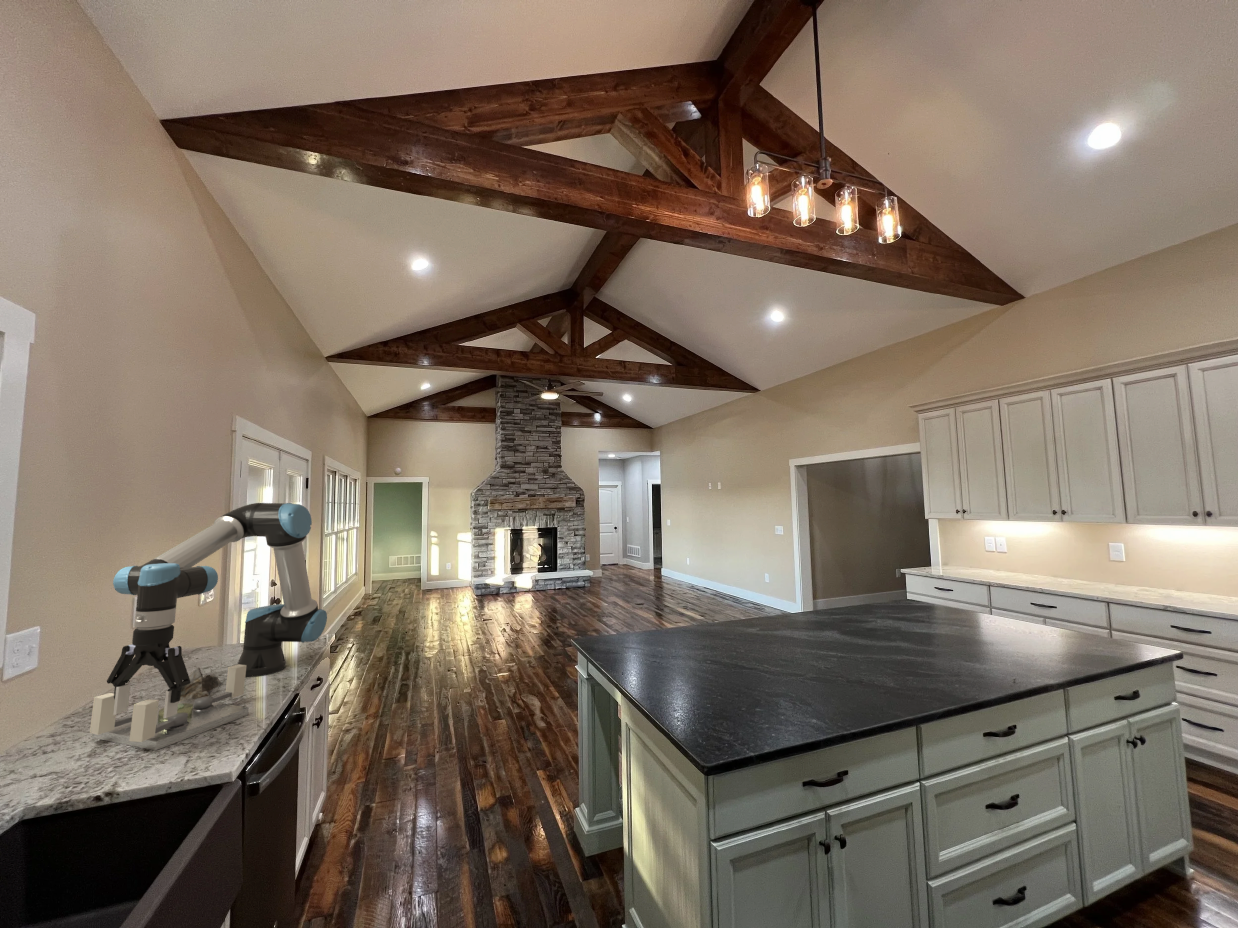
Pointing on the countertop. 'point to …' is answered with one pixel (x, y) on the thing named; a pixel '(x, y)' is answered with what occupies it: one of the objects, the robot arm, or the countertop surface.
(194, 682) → the rock
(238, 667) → the gray lever with block
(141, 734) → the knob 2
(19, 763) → the countertop surface
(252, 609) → the robot arm
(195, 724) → the level plate
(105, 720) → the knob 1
